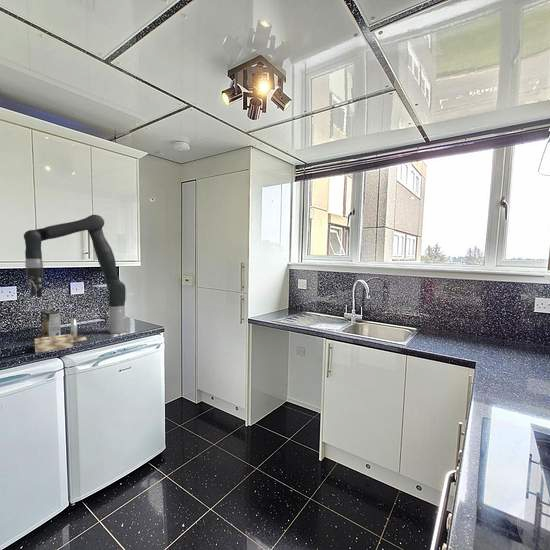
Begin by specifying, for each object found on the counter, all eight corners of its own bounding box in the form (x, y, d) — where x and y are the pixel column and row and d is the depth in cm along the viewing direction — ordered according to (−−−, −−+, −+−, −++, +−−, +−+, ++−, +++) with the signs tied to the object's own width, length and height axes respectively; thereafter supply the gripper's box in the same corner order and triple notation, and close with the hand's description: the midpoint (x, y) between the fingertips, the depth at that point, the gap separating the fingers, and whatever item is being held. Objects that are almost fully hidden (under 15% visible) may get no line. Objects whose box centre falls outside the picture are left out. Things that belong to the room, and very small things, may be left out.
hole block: (70, 342, 170) (70, 333, 170) (73, 346, 162) (73, 337, 162) (34, 347, 160) (34, 338, 159) (35, 352, 152) (35, 343, 152)
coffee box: (40, 338, 176) (39, 311, 175) (53, 336, 182) (52, 309, 181) (49, 341, 172) (48, 313, 171) (61, 338, 178) (60, 311, 177)
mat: (85, 337, 181) (85, 336, 181) (87, 340, 176) (87, 339, 176) (69, 339, 176) (69, 338, 176) (70, 342, 170) (70, 341, 170)
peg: (76, 338, 176) (76, 318, 176) (77, 339, 174) (77, 319, 173) (70, 339, 175) (70, 319, 174) (71, 340, 172) (70, 320, 171)
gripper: (47, 267, 163) (49, 296, 165) (37, 266, 171) (39, 294, 173) (30, 267, 157) (32, 298, 158) (21, 266, 165) (23, 296, 166)
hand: (36, 296), depth 165 cm, fingers open, 8 cm apart
